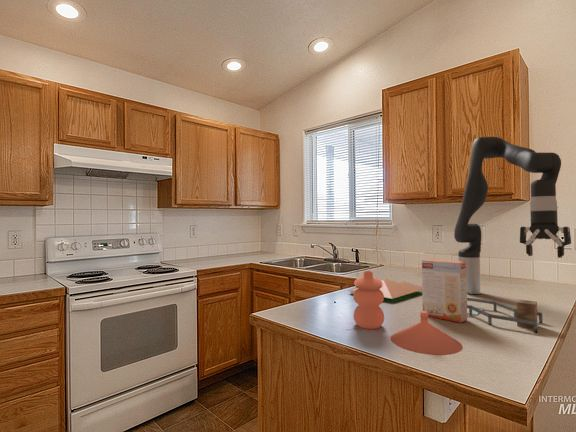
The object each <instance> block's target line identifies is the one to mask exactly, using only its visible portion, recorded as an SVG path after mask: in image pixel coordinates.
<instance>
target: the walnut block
mask: <svg viewBox="0 0 576 432" xmlns="http://www.w3.org/2000/svg"><path fill="white" fill-rule="evenodd" d="M516 309H517V318H520V319H526V320H532V321H537V322H538V315H537V312H538V301H534V300H526V299H518V300H517V302H516ZM516 326H517V327H520V328H526V329H532V330H534V325H533V324H527V323H520V322H516Z"/></svg>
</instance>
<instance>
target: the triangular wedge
mask: <svg viewBox="0 0 576 432" xmlns="http://www.w3.org/2000/svg"><path fill="white" fill-rule="evenodd" d="M381 281H382V284H383V286H382V287H381V288H380V289H379V290H381V291H382V293H383V295H384V300H383V302H388V303H389V302H390V303H393V300H394V302H397V301H400V298H401V297H403V299H404V300H406V299H407V298H410V295H411V294H413V296H417V295H420V292H421V291H422V286H421V285H420V286H419V285H417V284H414V283H410V282H407V281H401V282H398V281H394V280H391V279H388V278H387V279H383V280H382V279H381ZM356 289H358V288H356V287H355V288H352V289H350V290H349V289H348V292H351V295H353V294H354V292H355V290H356Z"/></svg>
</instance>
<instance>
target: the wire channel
mask: <svg viewBox="0 0 576 432" xmlns="http://www.w3.org/2000/svg"><path fill="white" fill-rule="evenodd" d="M467 302H474V303H475V302H476V303H483V304H489V305H493V311H494V312H497V309H498V308H497V306H498V307H500V308H503V309H505V310H508V311H509V312H510V311H511V312H513V317H512V316H506V315H501V314H499V315H498V314H493V313H490V312H487V311H485V310H480V309H478V308H479V307H476V306H473V305H470V304H469V305H468V304H467V308H469V314H468V316H473V315H472V310H474V311H476V312H478V313H479V314H481V315H482V316H485V317H487V320H488V321H487V324H488V326H489V325H490V326H492V323H493V322H492V319H497V320H502V321H503V320H504V321H510V322H516V323H517V322H520V323H527V324H533V325H534V329H533V333H534V334H538V324H543V322H544V321H543V320H544V319H543V316H544V315H543V312H541V311H537V317H538V320H537V321H532V320H526V319H520V318H517V308H515V307H512V306H509V305H507V304H504V303H501V302H498V301H495V300H489V299H481V298H474V297H467Z"/></svg>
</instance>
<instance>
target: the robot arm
mask: <svg viewBox="0 0 576 432" xmlns="http://www.w3.org/2000/svg"><path fill="white" fill-rule="evenodd" d="M495 158H501V159H502V158H504V159H505V161H506V162H508V164H511V165H513V166H517V167H520V168H521V169H522V170H524V171H525V172H527V173H533V174H541V177H540V179H536V180H533V181H531V183H530V197H531V198H530V201H529V202H530V203H529V206H530V207H529V209H530V210H529V211H530V214H529V215H530V226H529V227H528V226H520V228H519V243H520V244H524V245H525V249H526V250H525V251H526V255H528V257H532V256H533V245H532V244H533V243H535V241H536V240H537V239H538V240H543V239H545V240H552V241H553V242H555V244H557V247H556V249H557V250H556V251H557V258H561V259H562V257H564V256H565V247H566V246H568V245H571V244H572V237H571V236H572V235H571V228H570V227H569V226H559V225H558V224H559V223H558V221H559V220H558V200H557V187H556V184H557V181H558V178H559V175H560V171H561V168H562V160H561V158H560V155H559V154H558V153H555V152H536V151H535V150H533V149H531V148H529V147H528V148H527V147H524V146H521V145H520V146H519V145H515V144H513V143H510V142H508V141H506V140H505V139H503V138H501V137H498V136H480V137H476V138H475V139H474V141H473V143H472V146H471V152H470V160H469V166H468V167H469V169H468V174H467V180H466V184H465V187H464V191H463V196H462V197H463V198H462V201H461V202H462V203H461V207H460V212H459V214H458V217H457V221H456V224H455V227H454V233H453V234H454V239H455V242H457V243H462V244H463V243H464V244H466V243H468V246H466V247H465V248H461V249H460V250H458V253H457V254H458V255H457V257H458V261H462V262H466V273H467V294H469V295H479V294H481V250H482V229H481V226H480V225H479V224H477V223H469V222H470V220H471V218H472V217H473V215H474V214H475V213H476V212H478V210H480V209H481V207H482V206H483V205H484V204H485V202H486V200H487V195H488V192H489V185H488V182H487V180H486V177H485V175H484V172H483V161H484V159H495ZM529 232H531V236H530V237H529V238H528V239H527V234H528V233H529ZM559 232H560V233H561V234H563V240H564V241H563V240H562V239H561V238H560V237H559V236H558V233H559Z"/></svg>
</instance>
